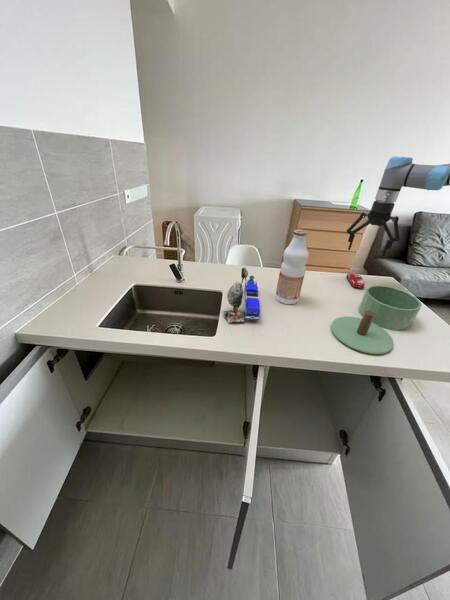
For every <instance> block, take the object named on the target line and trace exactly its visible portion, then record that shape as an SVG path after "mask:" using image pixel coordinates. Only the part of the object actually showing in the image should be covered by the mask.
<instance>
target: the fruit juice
mask: <svg viewBox="0 0 450 600" xmlns="http://www.w3.org/2000/svg"><path fill="white" fill-rule="evenodd" d="M292 235H293V237H292V239H291V240H290V243H289V244H288V246H287V247H286V248H285V249H284V250H283V253H282V254H283V255H282V257H283V261H282V263H281V264H280V268H279V273H278V279H277V285H276V291H275V299H276V301H278V302H279V303H281V304H283V305H284V304H285V305H294V304H297V303H298V302H299V300H300V295H301V292H302V288H303V283H304V279H305V275H306V271H307V270H306V269H307V266H306V263H308V260H309V256H310V253H309V250H308V246H307V237H308V235H309V231H308V230H305V229H293V233H292Z"/></svg>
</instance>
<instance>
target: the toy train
mask: <svg viewBox="0 0 450 600" xmlns="http://www.w3.org/2000/svg"><path fill="white" fill-rule="evenodd" d="M248 277H249V278H248V280H247V281H245V280H244V316H245V320H246V321H249V320H251V321H259V320H260V314H261V306H260V296H259V288H258V280H257V279H256V280H255V276H254V275H248Z"/></svg>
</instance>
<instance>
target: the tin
mask: <svg viewBox="0 0 450 600" xmlns="http://www.w3.org/2000/svg"><path fill="white" fill-rule="evenodd" d="M422 305H423V304H422V302H421V300H420V299H419V298H417V297H416V296H414V295H413V294H411V293H409V292H407V291H405V290H402V289H399V288H396V287H392V286H388V285H381V284H380V285H376V284H375V285H371V286H368V287H367V288H366V289H365V292H364V294H363V296H362V299H361V301H360V303H359V306H358V313H359V314H360V315H361V317H363V315H364V313H365V311H371V312H373V313H375V317H374V319H373V321H372V323H374V324H376V325H378V326H380V327H381V328H383V329H387V330H393V331H405V330H407V329H409V328H410V327H411V326H412V324H413V322H414V320H415V318H417V315H418V313H419V312H420V310H421V309H422Z"/></svg>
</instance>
